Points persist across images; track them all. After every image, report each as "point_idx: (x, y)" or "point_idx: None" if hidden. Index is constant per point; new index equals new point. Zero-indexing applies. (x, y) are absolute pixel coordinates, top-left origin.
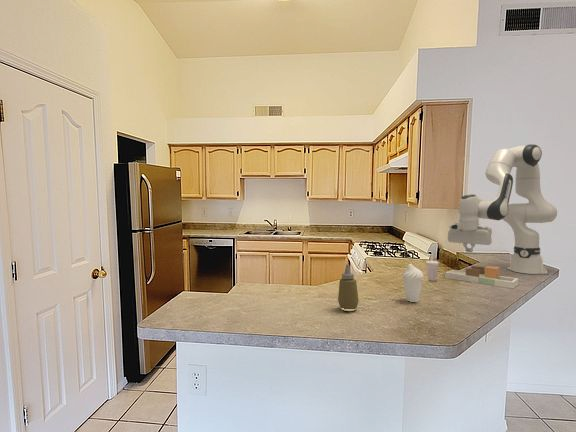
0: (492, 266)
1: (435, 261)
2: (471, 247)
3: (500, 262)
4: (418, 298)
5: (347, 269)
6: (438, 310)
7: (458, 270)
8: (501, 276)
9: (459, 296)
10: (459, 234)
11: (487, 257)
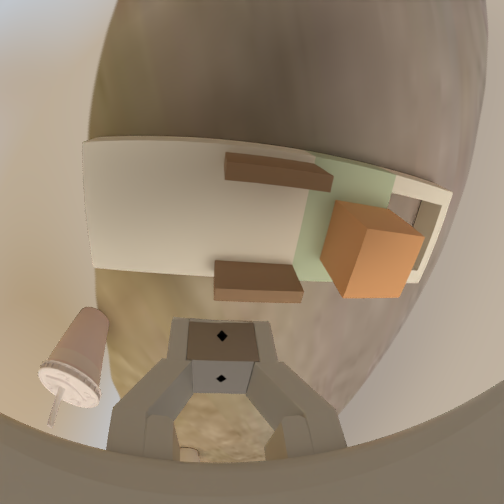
0: (392, 236)
1: (64, 377)
2: (270, 417)
3: None
4: (198, 457)
5: None
6: (241, 455)
7: (125, 150)
8: (399, 186)
9: (251, 413)
10: None
11: None
